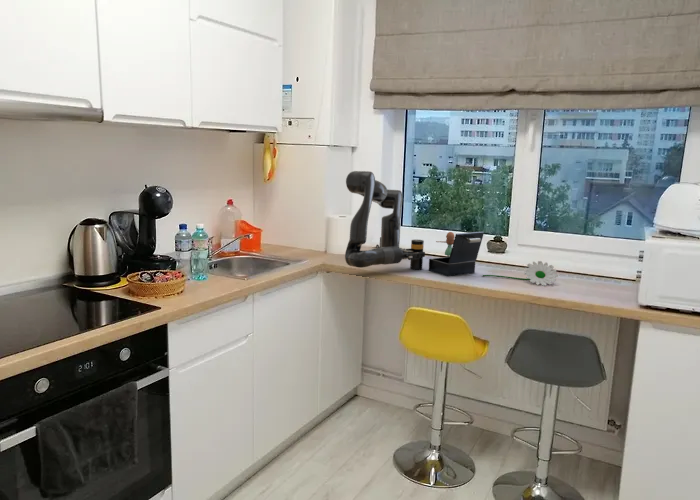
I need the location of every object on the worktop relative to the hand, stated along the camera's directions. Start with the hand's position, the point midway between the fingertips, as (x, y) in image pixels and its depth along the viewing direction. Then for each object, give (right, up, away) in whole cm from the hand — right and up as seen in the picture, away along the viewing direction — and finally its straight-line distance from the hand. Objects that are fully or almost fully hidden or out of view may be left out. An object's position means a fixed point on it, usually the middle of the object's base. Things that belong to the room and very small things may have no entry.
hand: (418, 252), depth 239 cm
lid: (+19, +2, -11) cm, 22 cm away
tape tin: (-1, -7, +1) cm, 8 cm away
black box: (+14, -8, -2) cm, 17 cm away
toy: (+16, -5, +16) cm, 24 cm away
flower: (+41, -12, -14) cm, 44 cm away
